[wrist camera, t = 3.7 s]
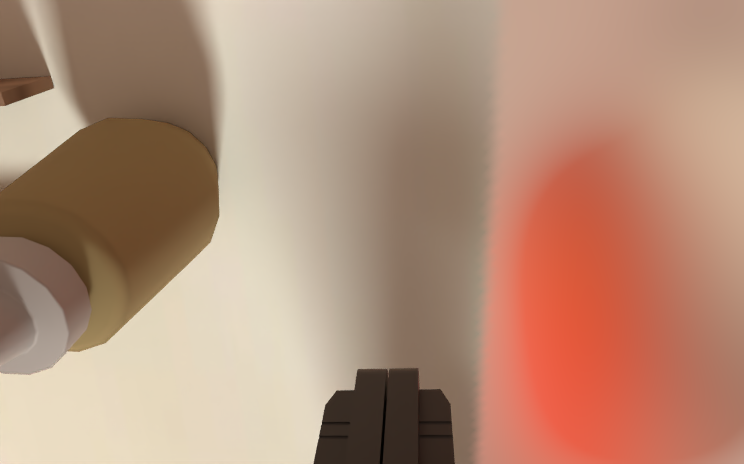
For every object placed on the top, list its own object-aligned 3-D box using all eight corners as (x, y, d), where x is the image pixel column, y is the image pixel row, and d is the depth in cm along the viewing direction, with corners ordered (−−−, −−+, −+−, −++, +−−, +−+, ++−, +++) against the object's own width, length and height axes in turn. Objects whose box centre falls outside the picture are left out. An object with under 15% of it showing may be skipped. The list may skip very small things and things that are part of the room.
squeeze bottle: (198, 265, 35) (4, 539, 18) (71, 189, 33) (-262, 415, 17) (266, 156, 32) (105, 371, 15) (129, 68, 30) (-211, 200, 14)
